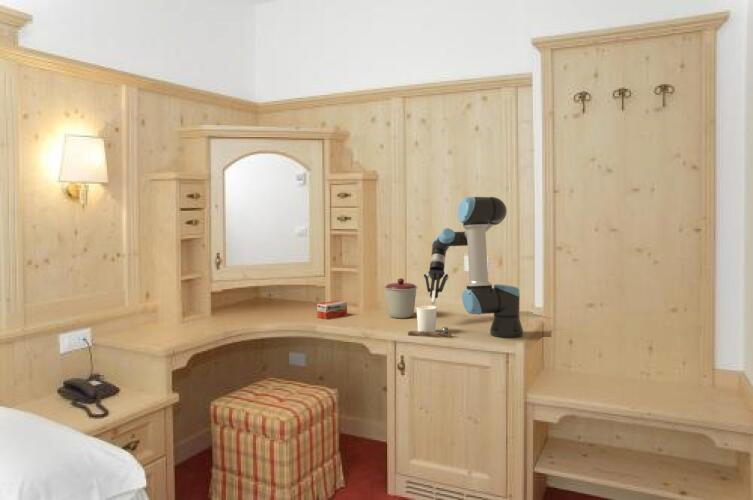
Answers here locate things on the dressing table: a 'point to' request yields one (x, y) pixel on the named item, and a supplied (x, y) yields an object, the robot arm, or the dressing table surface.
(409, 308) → the canister
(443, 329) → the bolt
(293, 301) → the dressing table surface
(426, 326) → the white cup
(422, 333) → the hole rail
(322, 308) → the medicine box
